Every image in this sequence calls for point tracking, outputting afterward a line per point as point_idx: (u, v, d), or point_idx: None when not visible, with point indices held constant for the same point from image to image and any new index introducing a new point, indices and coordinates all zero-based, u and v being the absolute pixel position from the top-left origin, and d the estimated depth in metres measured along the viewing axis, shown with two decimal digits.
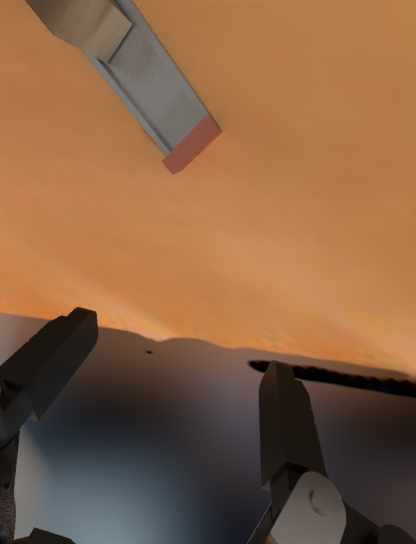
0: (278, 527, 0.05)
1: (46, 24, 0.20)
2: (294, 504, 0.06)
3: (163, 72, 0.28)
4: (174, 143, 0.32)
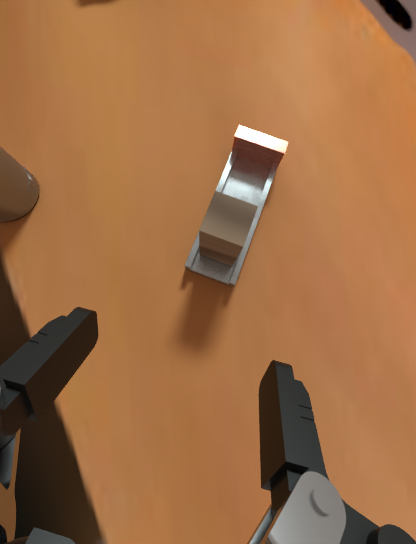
0: (278, 527, 0.05)
1: (255, 211, 0.25)
2: (294, 504, 0.06)
3: None
4: (263, 171, 0.37)
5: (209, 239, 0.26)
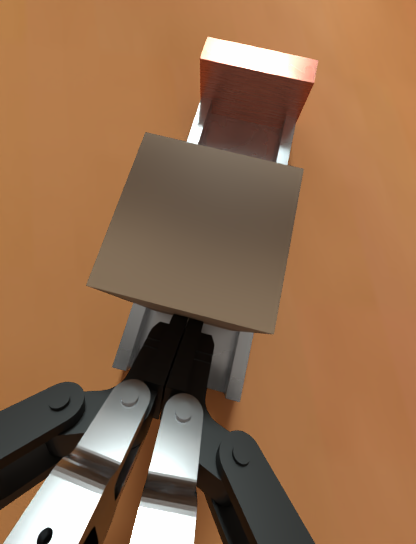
0: (155, 460, 0.06)
1: (295, 189, 0.07)
2: (164, 432, 0.06)
3: None
4: (268, 136, 0.19)
5: (145, 303, 0.08)
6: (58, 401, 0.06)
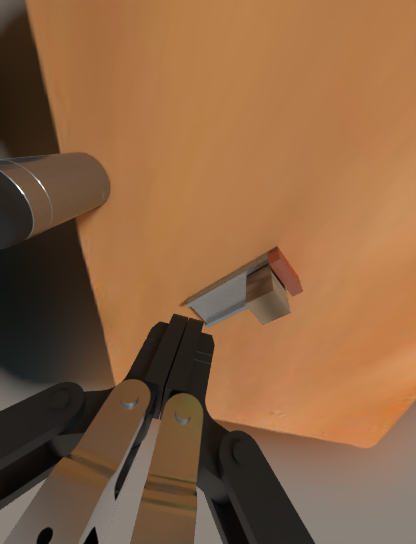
0: (155, 460, 0.06)
1: (285, 314, 0.36)
2: (164, 432, 0.06)
3: (239, 279, 0.45)
4: None
5: None
6: (58, 401, 0.06)
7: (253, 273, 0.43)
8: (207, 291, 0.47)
